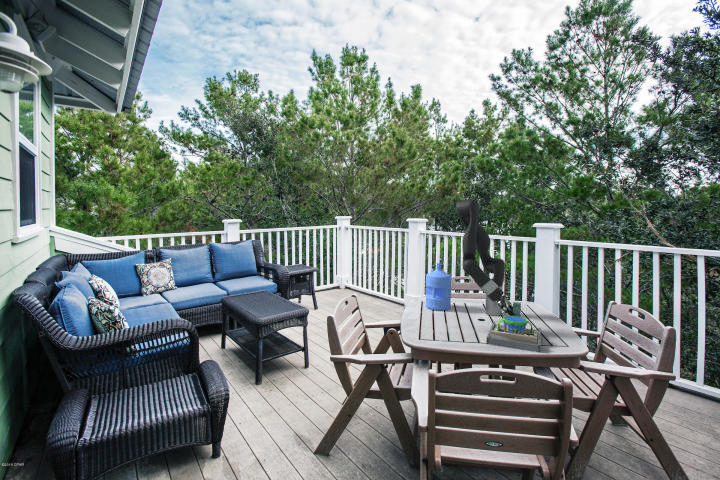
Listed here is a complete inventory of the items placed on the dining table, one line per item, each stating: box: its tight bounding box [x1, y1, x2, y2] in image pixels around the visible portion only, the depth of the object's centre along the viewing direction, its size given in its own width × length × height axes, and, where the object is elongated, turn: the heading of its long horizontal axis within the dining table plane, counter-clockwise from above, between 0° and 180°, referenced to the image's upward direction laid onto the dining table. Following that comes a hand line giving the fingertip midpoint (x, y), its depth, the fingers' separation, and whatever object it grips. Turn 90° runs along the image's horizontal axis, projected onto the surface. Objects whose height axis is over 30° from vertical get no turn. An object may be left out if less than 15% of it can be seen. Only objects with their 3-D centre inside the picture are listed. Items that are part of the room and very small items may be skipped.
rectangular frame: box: [486, 321, 542, 353], centre depth 174 cm, size 26×22×3 cm
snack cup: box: [497, 315, 534, 335], centre depth 172 cm, size 16×10×10 cm
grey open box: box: [490, 301, 538, 344], centre depth 174 cm, size 23×20×14 cm
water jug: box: [425, 262, 452, 312], centre depth 228 cm, size 16×16×28 cm
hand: (515, 315), depth 183 cm, fingers open, 8 cm apart
